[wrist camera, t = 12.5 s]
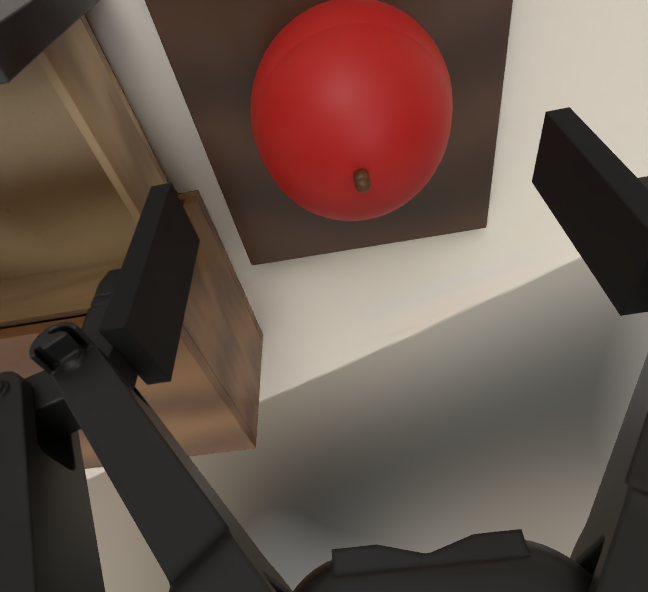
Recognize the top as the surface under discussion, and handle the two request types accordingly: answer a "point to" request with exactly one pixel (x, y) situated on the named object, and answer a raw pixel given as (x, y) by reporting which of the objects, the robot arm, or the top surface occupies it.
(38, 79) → the drawer
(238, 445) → the cabinet
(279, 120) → the apple
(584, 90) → the top surface
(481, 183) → the board
